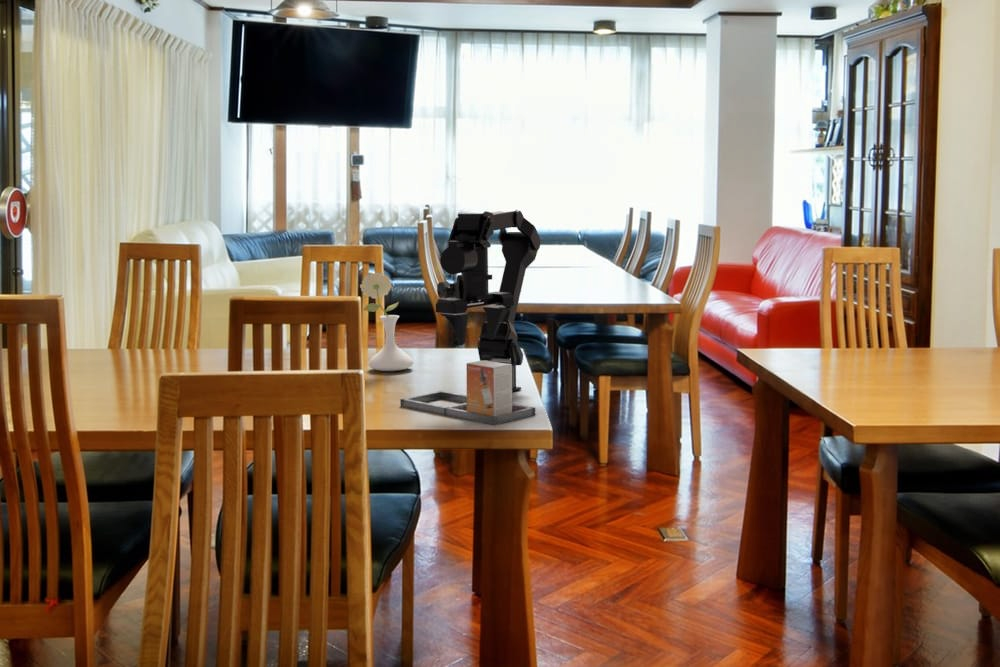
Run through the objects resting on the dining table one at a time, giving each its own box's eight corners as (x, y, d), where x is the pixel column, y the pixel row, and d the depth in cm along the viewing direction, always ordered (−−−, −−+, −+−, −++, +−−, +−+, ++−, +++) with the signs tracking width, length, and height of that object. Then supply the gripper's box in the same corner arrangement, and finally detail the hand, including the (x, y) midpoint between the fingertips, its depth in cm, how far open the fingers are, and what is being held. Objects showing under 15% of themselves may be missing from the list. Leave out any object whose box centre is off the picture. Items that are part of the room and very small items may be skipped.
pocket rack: (441, 397, 240) (441, 390, 240) (535, 414, 221) (535, 407, 221) (400, 406, 232) (400, 399, 232) (494, 425, 213) (494, 417, 212)
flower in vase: (417, 366, 281) (414, 269, 277) (409, 374, 269) (406, 273, 266) (367, 366, 282) (364, 270, 278) (357, 374, 271) (354, 274, 267)
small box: (466, 413, 223) (465, 362, 221) (485, 408, 227) (484, 359, 225) (494, 418, 217) (493, 367, 216) (513, 414, 221) (512, 363, 220)
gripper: (478, 265, 243) (480, 334, 246) (416, 271, 230) (418, 344, 232) (514, 267, 236) (516, 338, 238) (453, 274, 223) (455, 349, 225)
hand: (476, 342), depth 234 cm, fingers open, 9 cm apart
